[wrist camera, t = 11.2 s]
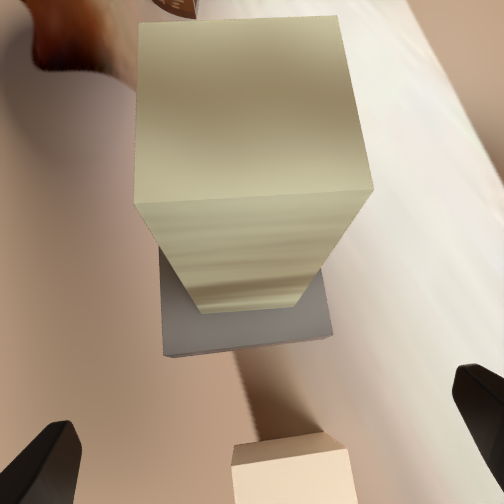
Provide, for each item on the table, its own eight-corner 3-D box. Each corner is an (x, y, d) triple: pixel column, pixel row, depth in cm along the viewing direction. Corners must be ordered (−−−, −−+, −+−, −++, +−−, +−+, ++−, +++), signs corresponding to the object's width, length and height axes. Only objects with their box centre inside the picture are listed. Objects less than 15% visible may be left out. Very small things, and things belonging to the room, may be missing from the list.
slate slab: (322, 339, 22) (333, 334, 20) (173, 358, 22) (163, 355, 19) (298, 206, 25) (305, 185, 22) (166, 220, 25) (156, 199, 22)
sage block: (293, 306, 20) (374, 189, 8) (201, 314, 20) (133, 203, 8) (283, 222, 22) (337, 15, 9) (198, 228, 21) (138, 23, 9)
